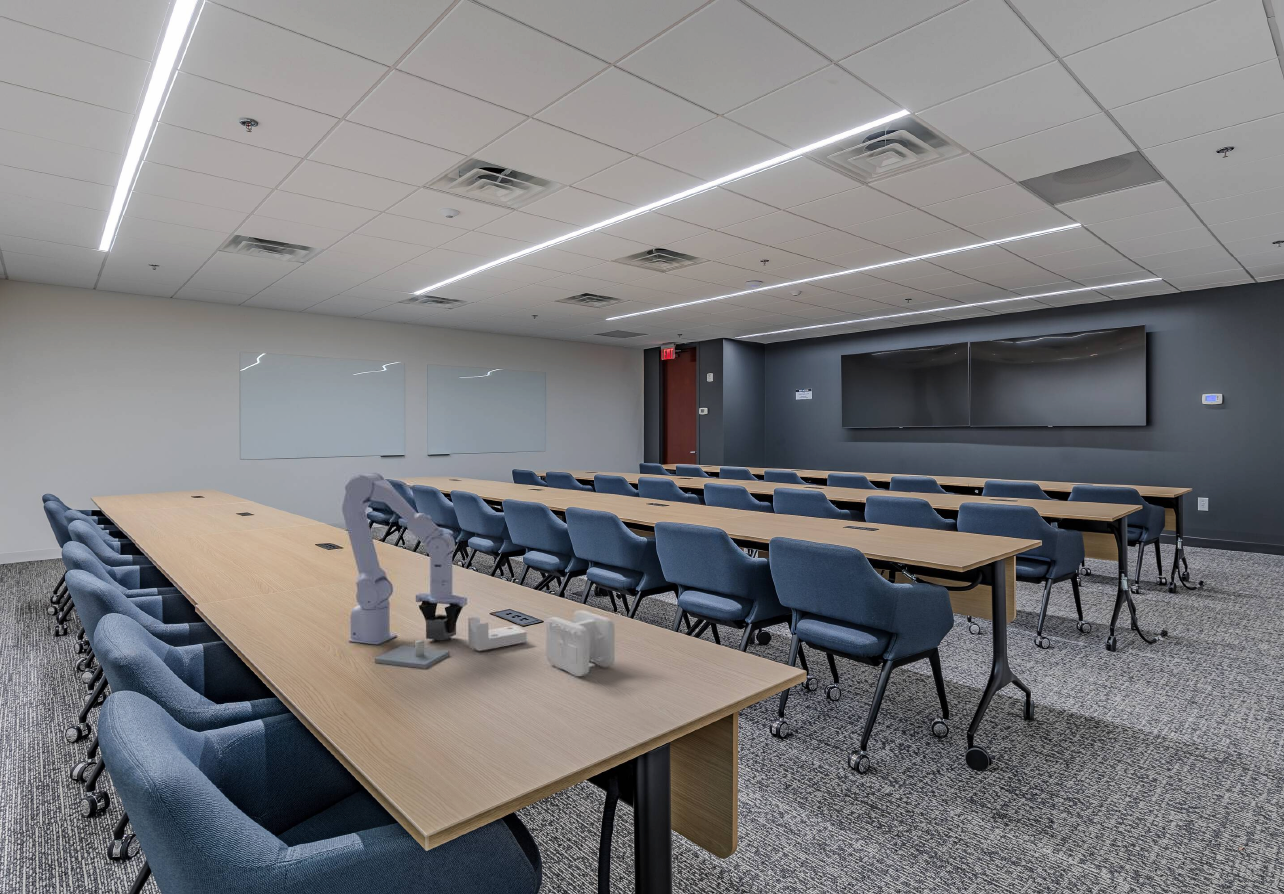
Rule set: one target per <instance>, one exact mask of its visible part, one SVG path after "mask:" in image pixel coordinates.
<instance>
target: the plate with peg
mask: <svg viewBox="0 0 1284 894" xmlns="http://www.w3.org/2000/svg"><path fill="white" fill-rule="evenodd" d="M414 645H415V646H406V645H399V646H398V647H396V648H394V649H391V650H390V651H388V652H386V653H383V654H382V655H378V656H377V657H375V658H374V664H375V663H376V664H383V665H393V666H400V667H409V668H415V669H424V670H425V669H427V668H429V667H430V666H433V665H434V664H436V663H438V662H440V661H442V660H443V659H445V658H448V657H449V656H450V650H441V649H434V648H433V649H432V648H427V647H426V648H425V640H424V639H418V640H415V641H414Z"/></svg>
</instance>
